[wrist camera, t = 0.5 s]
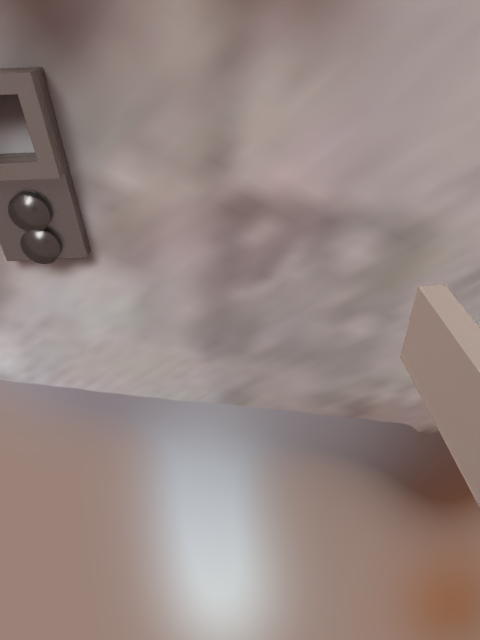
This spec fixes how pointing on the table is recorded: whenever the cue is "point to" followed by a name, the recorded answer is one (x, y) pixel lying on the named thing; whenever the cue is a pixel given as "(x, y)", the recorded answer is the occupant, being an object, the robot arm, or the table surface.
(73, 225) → the grey latch plate
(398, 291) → the table surface
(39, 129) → the chain end
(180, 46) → the table surface
